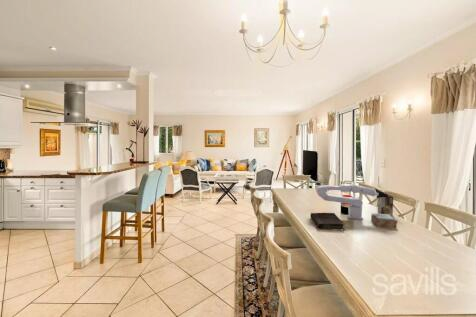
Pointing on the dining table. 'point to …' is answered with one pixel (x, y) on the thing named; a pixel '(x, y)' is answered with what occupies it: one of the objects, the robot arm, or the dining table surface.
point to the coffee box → (385, 205)
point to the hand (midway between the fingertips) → (386, 194)
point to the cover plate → (383, 217)
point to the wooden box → (383, 222)
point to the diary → (327, 221)
